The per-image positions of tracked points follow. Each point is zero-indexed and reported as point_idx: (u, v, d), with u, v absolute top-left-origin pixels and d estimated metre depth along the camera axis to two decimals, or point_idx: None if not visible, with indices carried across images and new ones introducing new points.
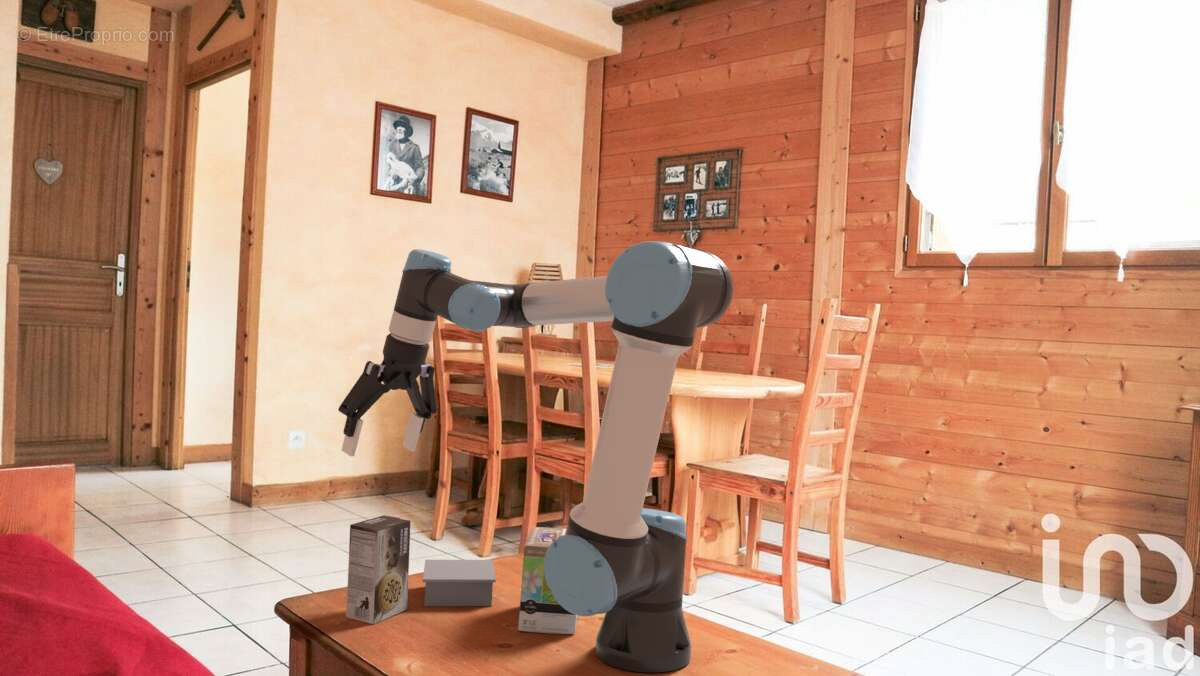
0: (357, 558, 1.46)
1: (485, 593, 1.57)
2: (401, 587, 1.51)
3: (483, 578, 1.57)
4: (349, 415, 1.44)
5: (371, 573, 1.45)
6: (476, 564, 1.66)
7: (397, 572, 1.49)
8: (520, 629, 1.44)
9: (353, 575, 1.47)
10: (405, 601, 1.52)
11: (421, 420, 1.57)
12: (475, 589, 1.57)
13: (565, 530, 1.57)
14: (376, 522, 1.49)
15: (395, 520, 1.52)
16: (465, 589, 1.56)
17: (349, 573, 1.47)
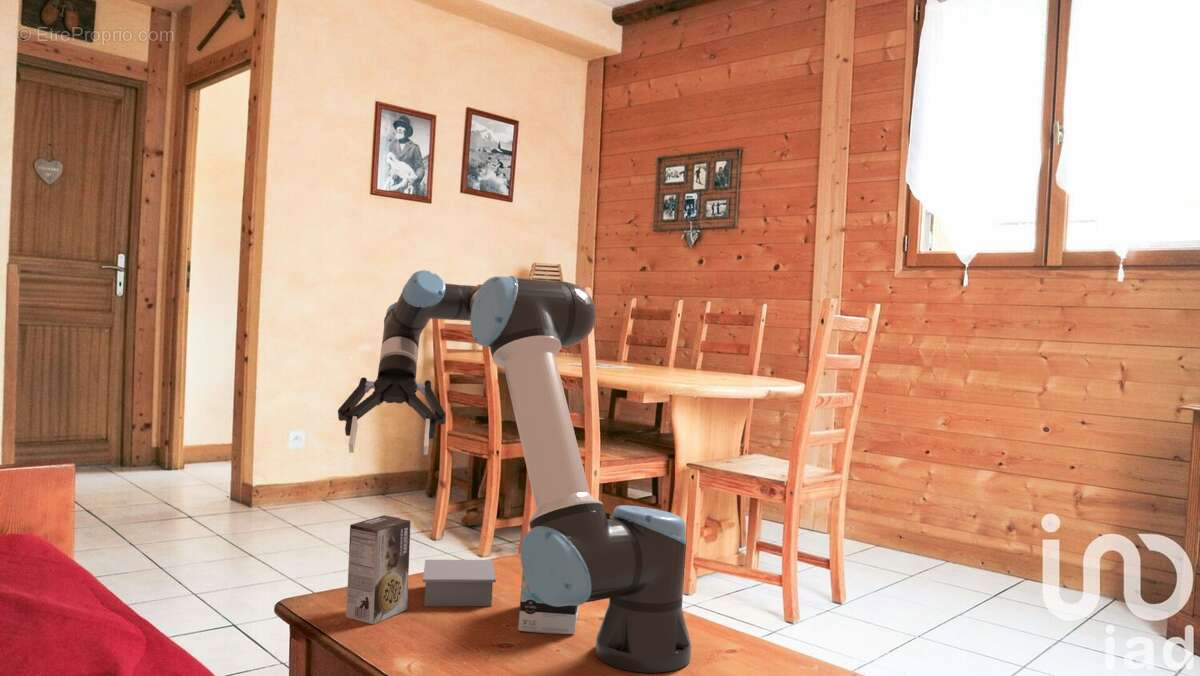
0: (357, 558, 1.46)
1: (485, 593, 1.57)
2: (401, 587, 1.51)
3: (483, 578, 1.57)
4: (340, 411, 1.64)
5: (371, 573, 1.45)
6: (476, 564, 1.66)
7: (397, 572, 1.49)
8: (520, 629, 1.44)
9: (353, 575, 1.47)
10: (405, 601, 1.52)
11: (427, 420, 1.66)
12: (475, 589, 1.57)
13: None
14: (376, 522, 1.49)
15: (395, 520, 1.52)
16: (465, 589, 1.56)
17: (349, 573, 1.47)
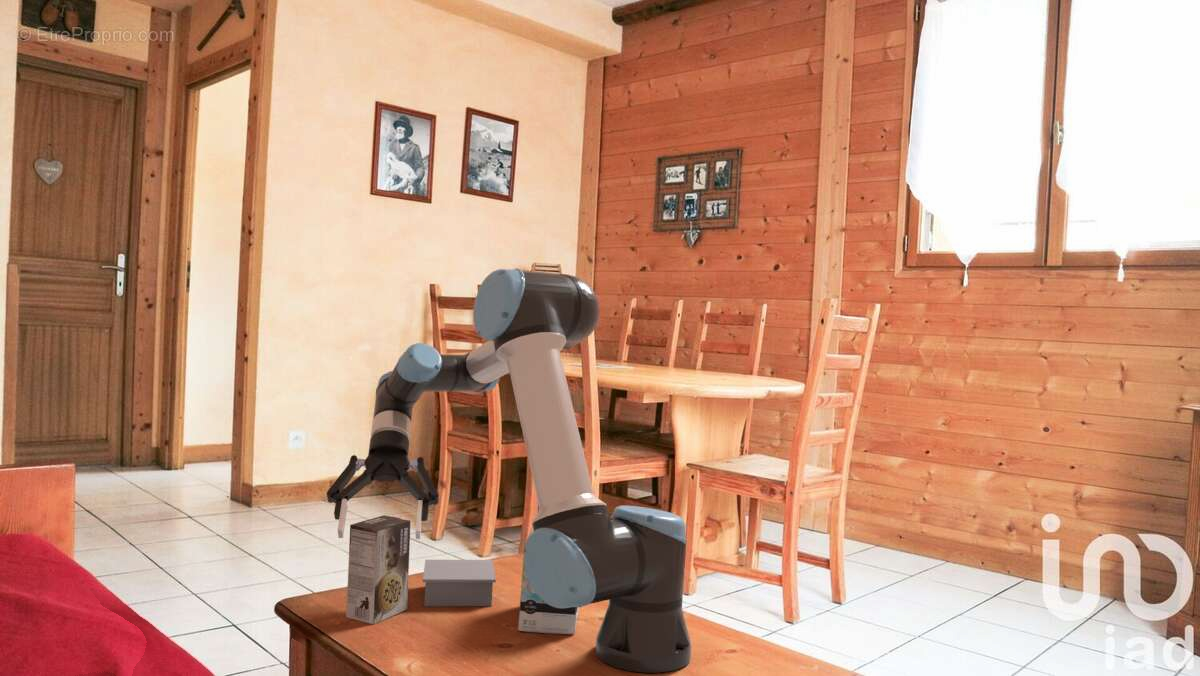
0: (357, 558, 1.46)
1: (485, 593, 1.57)
2: (401, 587, 1.51)
3: (483, 578, 1.57)
4: (329, 494, 1.58)
5: (371, 573, 1.45)
6: (476, 564, 1.66)
7: (397, 572, 1.49)
8: (520, 629, 1.44)
9: (353, 575, 1.46)
10: (405, 601, 1.52)
11: (420, 502, 1.59)
12: (475, 589, 1.57)
13: None
14: (376, 522, 1.49)
15: (395, 520, 1.52)
16: (465, 589, 1.56)
17: (349, 573, 1.47)
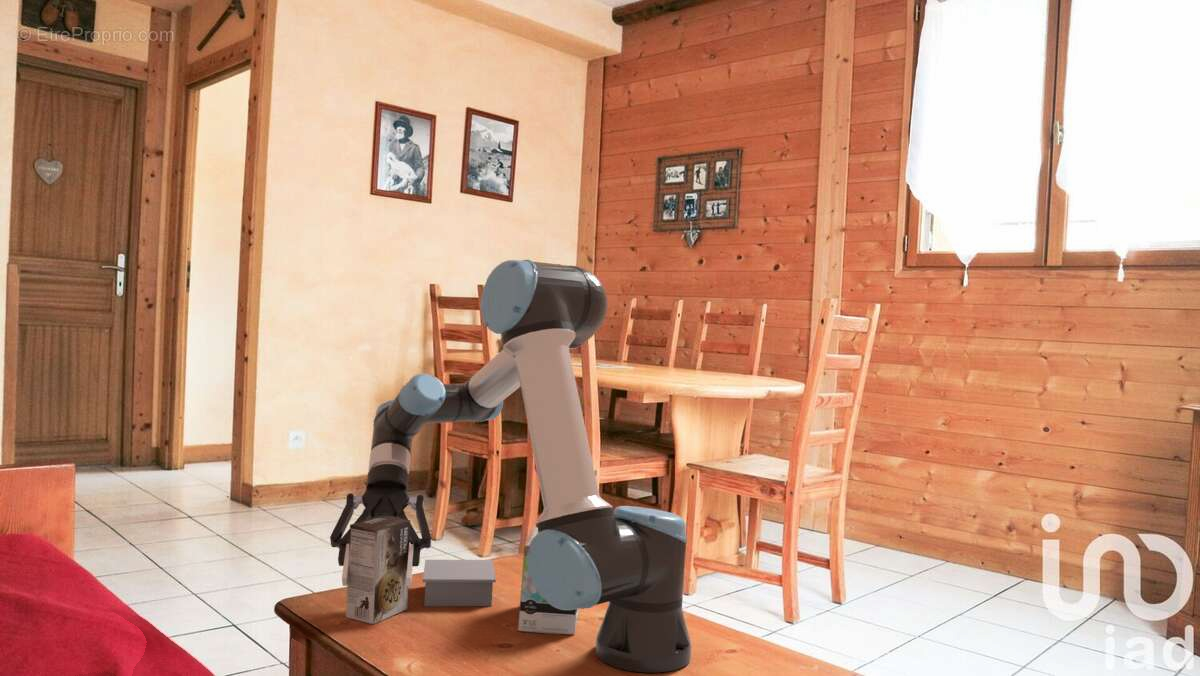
0: (357, 558, 1.46)
1: (485, 593, 1.57)
2: (401, 587, 1.51)
3: (483, 578, 1.57)
4: (333, 538, 1.50)
5: (371, 572, 1.45)
6: (476, 564, 1.66)
7: (397, 572, 1.49)
8: (520, 629, 1.44)
9: (353, 575, 1.46)
10: (405, 601, 1.52)
11: (411, 546, 1.51)
12: (475, 589, 1.57)
13: None
14: (376, 522, 1.49)
15: (395, 520, 1.52)
16: (465, 589, 1.56)
17: (349, 573, 1.47)
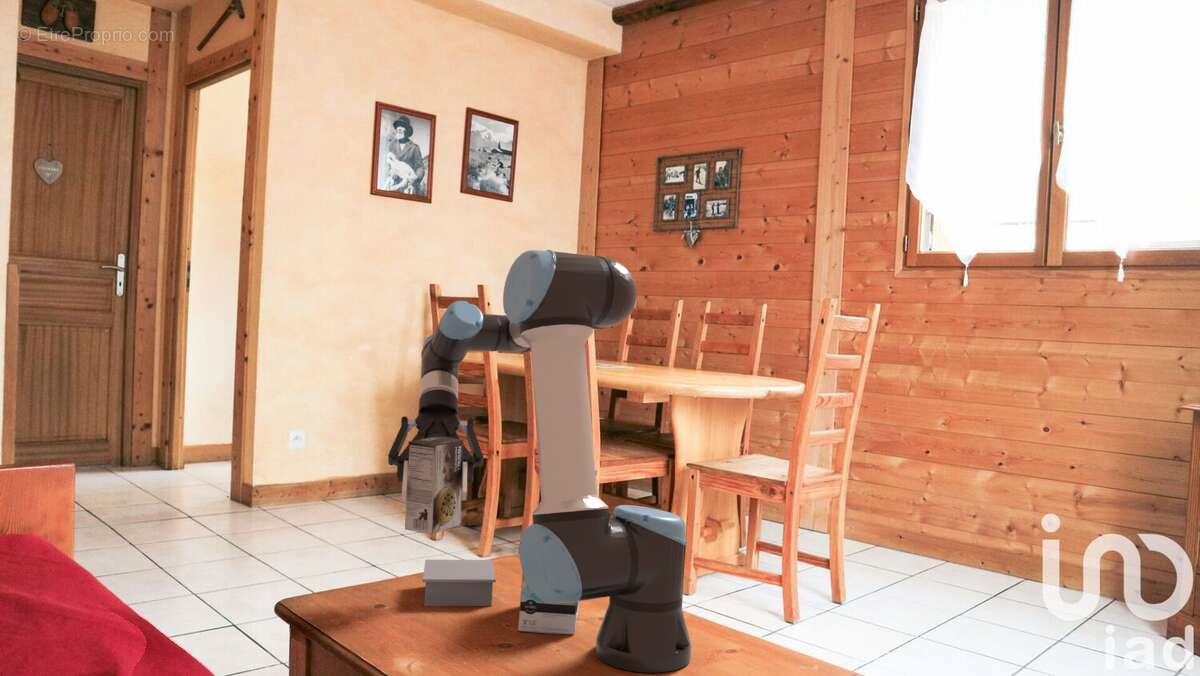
0: (415, 472, 1.54)
1: (485, 593, 1.57)
2: (455, 502, 1.59)
3: (483, 578, 1.57)
4: (391, 456, 1.58)
5: (429, 486, 1.53)
6: (476, 564, 1.66)
7: (452, 488, 1.57)
8: (520, 629, 1.44)
9: (412, 489, 1.54)
10: (459, 516, 1.60)
11: (465, 463, 1.59)
12: (475, 589, 1.57)
13: None
14: (432, 440, 1.57)
15: (449, 439, 1.59)
16: (465, 589, 1.56)
17: (407, 487, 1.55)
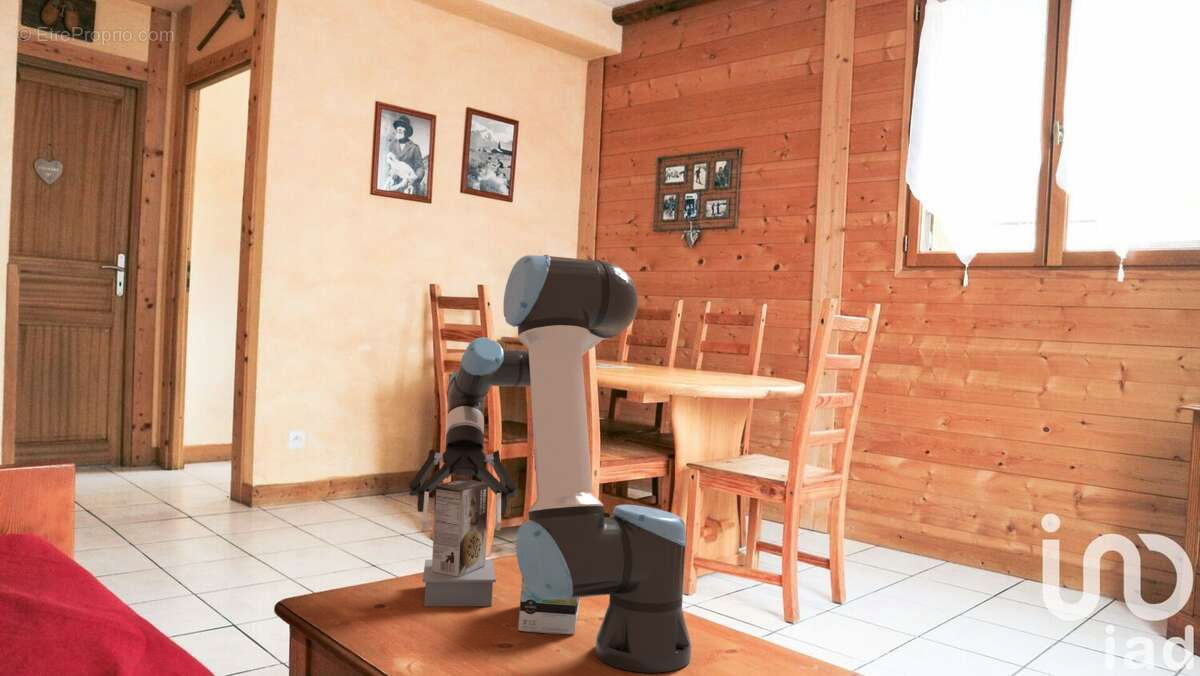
0: (442, 516, 1.58)
1: (485, 593, 1.57)
2: (480, 544, 1.63)
3: (483, 578, 1.57)
4: (412, 487, 1.62)
5: (456, 529, 1.57)
6: None
7: (477, 530, 1.62)
8: (520, 629, 1.44)
9: (438, 532, 1.59)
10: (484, 557, 1.64)
11: (499, 494, 1.64)
12: (475, 589, 1.57)
13: None
14: (458, 484, 1.61)
15: (474, 482, 1.64)
16: (465, 589, 1.56)
17: (434, 531, 1.59)
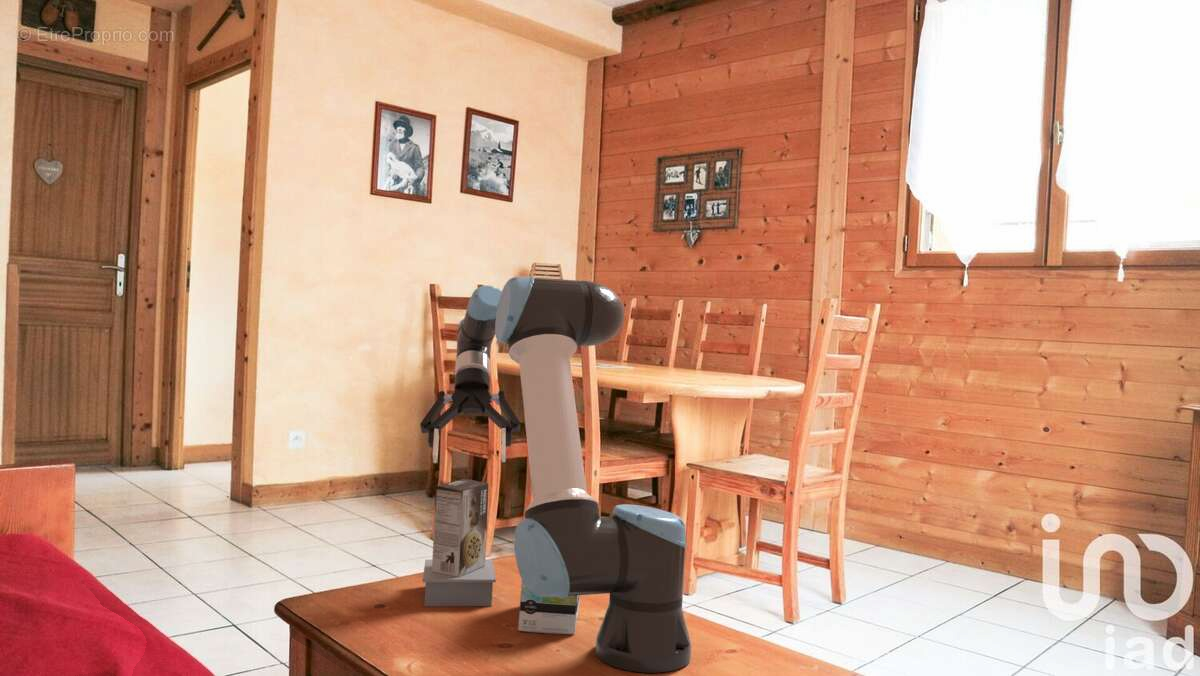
0: (442, 516, 1.58)
1: (485, 593, 1.57)
2: (480, 544, 1.63)
3: (483, 578, 1.57)
4: (422, 424, 1.76)
5: (456, 530, 1.57)
6: None
7: (478, 530, 1.62)
8: (520, 629, 1.44)
9: (439, 532, 1.59)
10: (484, 557, 1.64)
11: (503, 429, 1.76)
12: (475, 589, 1.57)
13: None
14: (458, 484, 1.61)
15: (475, 482, 1.64)
16: (465, 589, 1.56)
17: (434, 531, 1.59)
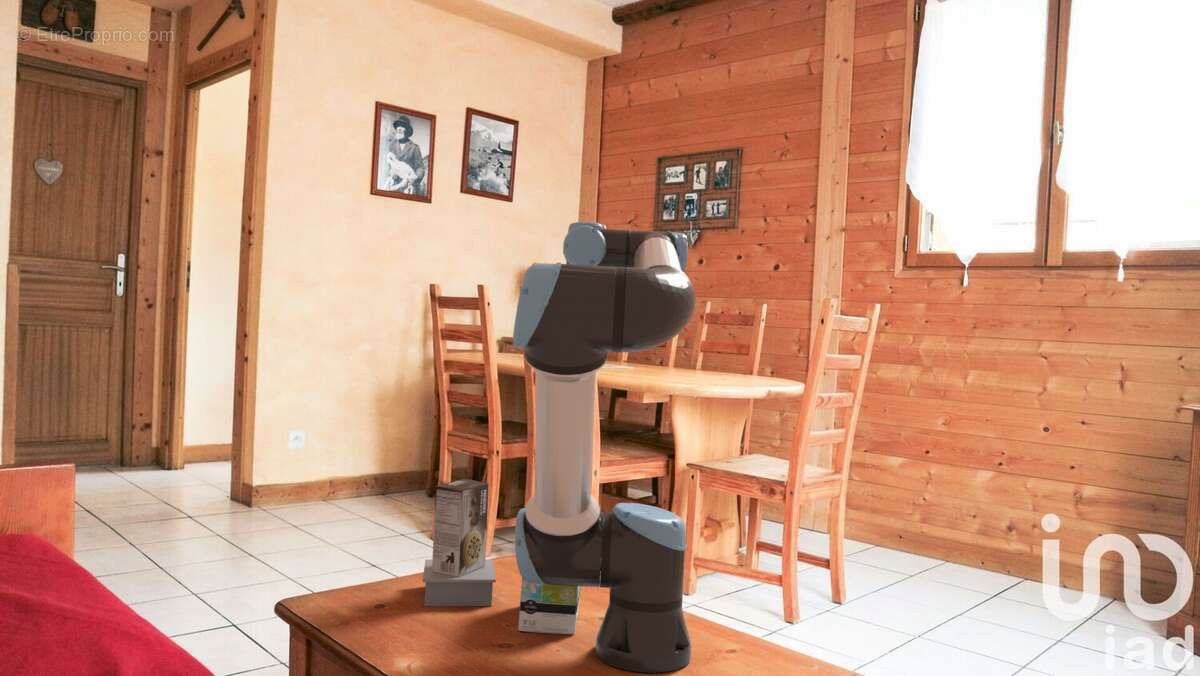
0: (442, 516, 1.58)
1: (485, 593, 1.57)
2: (480, 544, 1.63)
3: (483, 578, 1.57)
4: None
5: (456, 530, 1.57)
6: None
7: (478, 530, 1.62)
8: (520, 629, 1.44)
9: (439, 532, 1.59)
10: (484, 557, 1.64)
11: None
12: (475, 589, 1.57)
13: None
14: (458, 484, 1.61)
15: (475, 482, 1.64)
16: (465, 589, 1.56)
17: (434, 531, 1.59)
